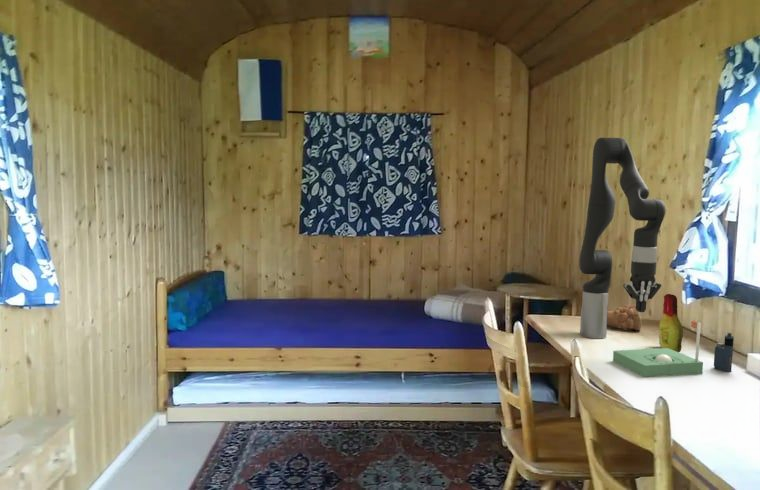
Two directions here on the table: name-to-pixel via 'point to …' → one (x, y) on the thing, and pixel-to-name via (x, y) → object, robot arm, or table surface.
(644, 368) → the green
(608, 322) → the bag of nuts
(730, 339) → the vaping device
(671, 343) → the bottle
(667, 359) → the ball
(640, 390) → the table surface
